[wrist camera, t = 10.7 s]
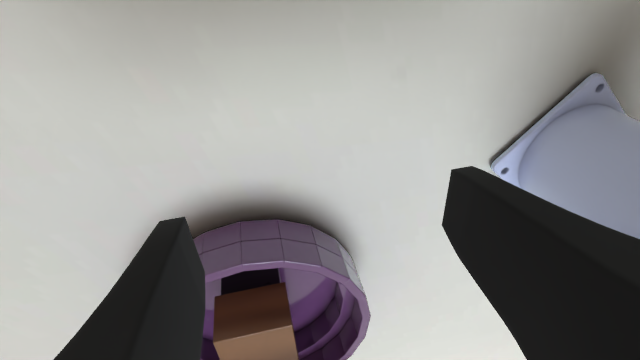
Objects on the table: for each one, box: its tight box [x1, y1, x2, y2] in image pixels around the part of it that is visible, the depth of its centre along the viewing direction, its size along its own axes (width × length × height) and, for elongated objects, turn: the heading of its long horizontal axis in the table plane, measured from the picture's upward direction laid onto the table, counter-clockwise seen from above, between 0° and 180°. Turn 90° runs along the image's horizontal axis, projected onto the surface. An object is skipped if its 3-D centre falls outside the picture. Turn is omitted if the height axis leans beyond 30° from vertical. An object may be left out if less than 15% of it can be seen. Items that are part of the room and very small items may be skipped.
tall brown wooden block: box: [213, 268, 299, 360], centre depth 24 cm, size 8×4×6 cm, turn 4°
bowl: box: [193, 219, 371, 360], centre depth 25 cm, size 14×14×4 cm
